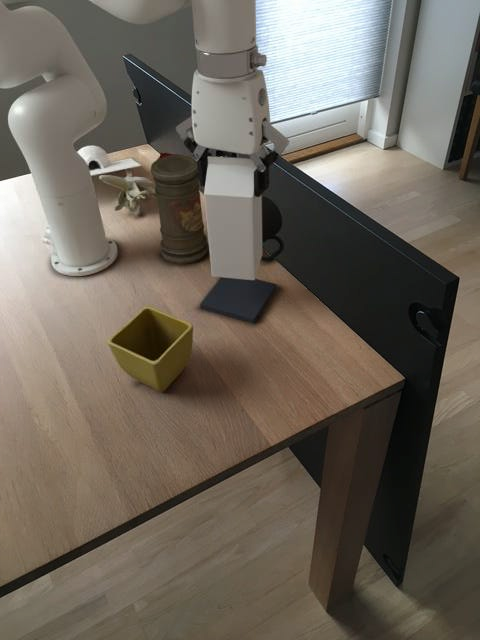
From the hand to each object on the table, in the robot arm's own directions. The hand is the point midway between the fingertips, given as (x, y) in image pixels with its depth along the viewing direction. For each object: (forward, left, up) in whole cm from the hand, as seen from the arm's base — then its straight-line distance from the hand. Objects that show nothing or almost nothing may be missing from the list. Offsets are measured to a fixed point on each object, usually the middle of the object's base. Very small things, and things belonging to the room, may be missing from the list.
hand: (233, 186), depth 79 cm
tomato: (-33, +34, -14) cm, 49 cm away
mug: (-2, +20, -18) cm, 27 cm away
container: (-16, +9, -22) cm, 28 cm away
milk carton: (0, 0, -15) cm, 15 cm away
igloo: (-49, +26, -18) cm, 58 cm away
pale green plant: (-36, +21, -21) cm, 47 cm away
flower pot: (-3, -21, -22) cm, 30 cm away
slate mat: (0, 0, -21) cm, 21 cm away
